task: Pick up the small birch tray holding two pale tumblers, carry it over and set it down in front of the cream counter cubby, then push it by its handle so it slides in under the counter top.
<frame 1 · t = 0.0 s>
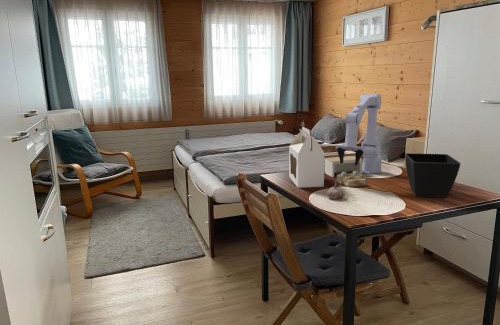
hand: (348, 164, 188), 11 cm above the table, tool pointing down, fingers open, 7 cm apart
counter: (342, 173, 213), on the table
garlic bulb: (335, 198, 170), on the table
gable box: (305, 182, 198), on the table
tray: (349, 181, 195), on the table
flower pot: (428, 194, 174), on the table
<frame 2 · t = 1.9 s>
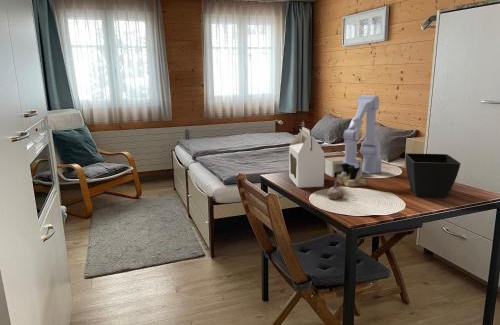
hand: (349, 178, 195), 2 cm above the table, tool pointing down, fingers closed on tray, 5 cm apart
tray: (349, 181, 195), on the table, touching gripper
everything else where it was.
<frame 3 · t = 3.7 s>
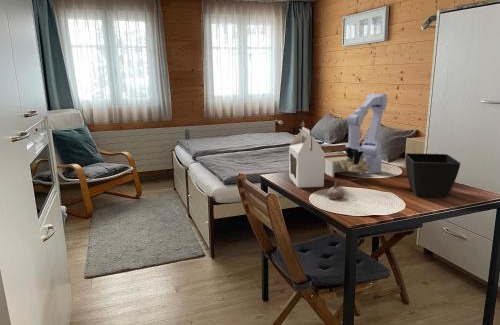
hand: (353, 162, 201), 9 cm above the table, tool pointing down, fingers closed on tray, 6 cm apart
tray: (352, 167, 201), point 6 cm above the table, tilted 5°, touching gripper
everything else where it was.
when the fingers open (2 cm above the table, at t = 5.4 s): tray stays where it is, on the table.
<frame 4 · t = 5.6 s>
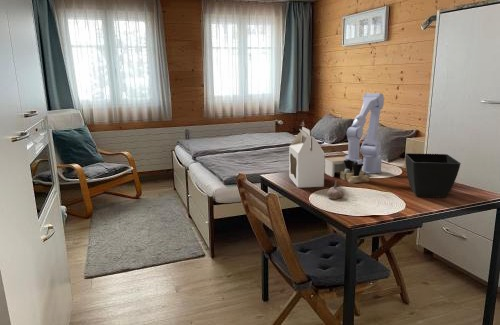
hand: (352, 174, 202), 2 cm above the table, tool pointing down, fingers open, 7 cm apart
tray: (352, 178, 202), on the table
everything else where it was.
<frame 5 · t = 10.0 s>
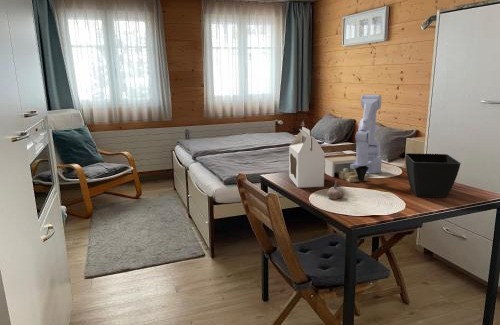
hand: (360, 180, 194), 1 cm above the table, tool pointing down, fingers closed
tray: (351, 177, 204), on the table, touching gripper
everything else where it was.
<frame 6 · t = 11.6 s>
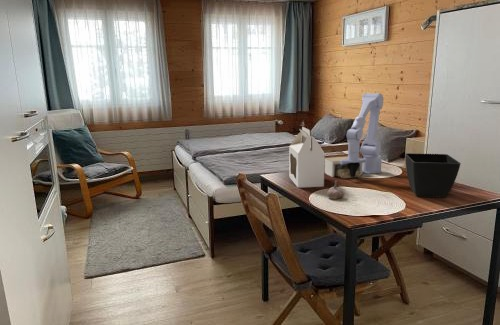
hand: (352, 176, 202), 1 cm above the table, tool pointing down, fingers closed, pressing on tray
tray: (344, 174, 211), on the table, touching gripper
everything else where it was.
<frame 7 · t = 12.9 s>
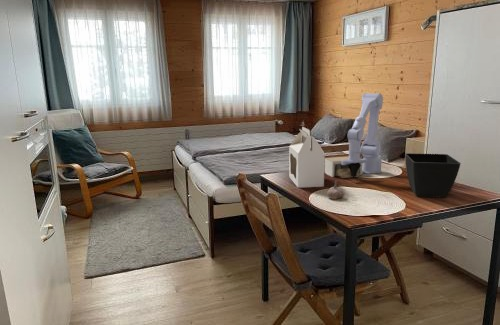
hand: (353, 176, 201), 1 cm above the table, tool pointing down, fingers closed
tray: (343, 173, 212), on the table
everything else where it was.
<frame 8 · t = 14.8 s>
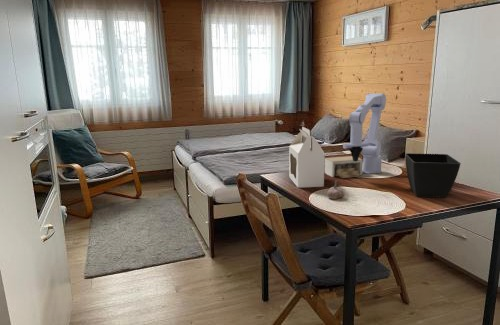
hand: (355, 161, 198), 10 cm above the table, tool pointing down, fingers closed
nothing on the table moved.
at the end: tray 0.1 cm off-centre on the counter, point 0.0 cm above the counter's base; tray tilted 0°; the gripper is holding nothing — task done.
